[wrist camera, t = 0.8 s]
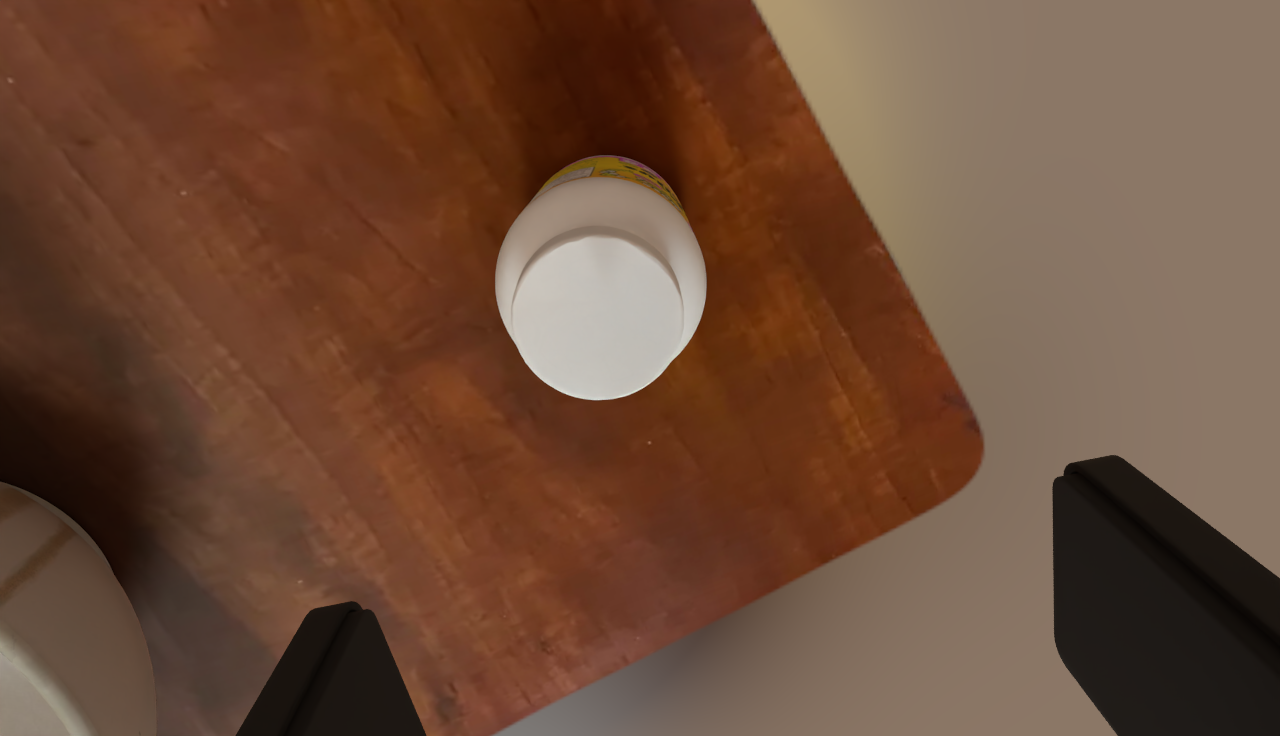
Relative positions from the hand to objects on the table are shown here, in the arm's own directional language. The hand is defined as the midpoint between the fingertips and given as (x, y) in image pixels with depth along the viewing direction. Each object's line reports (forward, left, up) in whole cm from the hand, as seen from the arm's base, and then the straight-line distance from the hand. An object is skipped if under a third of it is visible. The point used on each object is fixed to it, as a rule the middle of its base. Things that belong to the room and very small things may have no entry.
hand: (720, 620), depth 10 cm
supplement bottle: (-1, -2, -24) cm, 24 cm away
